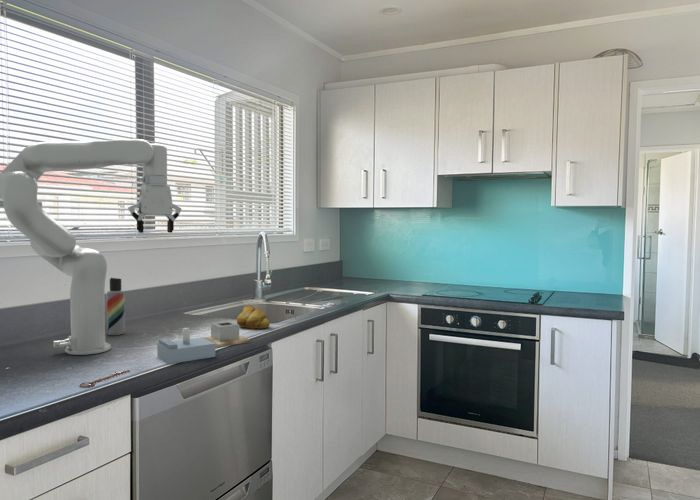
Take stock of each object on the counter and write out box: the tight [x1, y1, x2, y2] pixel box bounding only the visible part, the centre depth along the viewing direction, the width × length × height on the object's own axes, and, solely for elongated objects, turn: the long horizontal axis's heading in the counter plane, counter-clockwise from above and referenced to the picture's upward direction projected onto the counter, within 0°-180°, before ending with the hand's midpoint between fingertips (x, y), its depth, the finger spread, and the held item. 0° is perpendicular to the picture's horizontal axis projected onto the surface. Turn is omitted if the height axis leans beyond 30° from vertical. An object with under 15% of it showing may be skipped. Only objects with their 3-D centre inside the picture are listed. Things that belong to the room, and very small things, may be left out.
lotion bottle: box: [106, 277, 126, 336], centre depth 187 cm, size 6×6×20 cm
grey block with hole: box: [210, 320, 240, 342], centre depth 179 cm, size 7×7×5 cm
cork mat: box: [203, 335, 251, 348], centre depth 179 cm, size 12×12×1 cm
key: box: [79, 369, 131, 388], centre depth 136 cm, size 6×1×15 cm
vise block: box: [156, 327, 216, 365], centre depth 158 cm, size 14×10×8 cm
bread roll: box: [236, 304, 271, 330], centre depth 202 cm, size 13×10×8 cm
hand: (155, 232), depth 179 cm, fingers open, 9 cm apart
